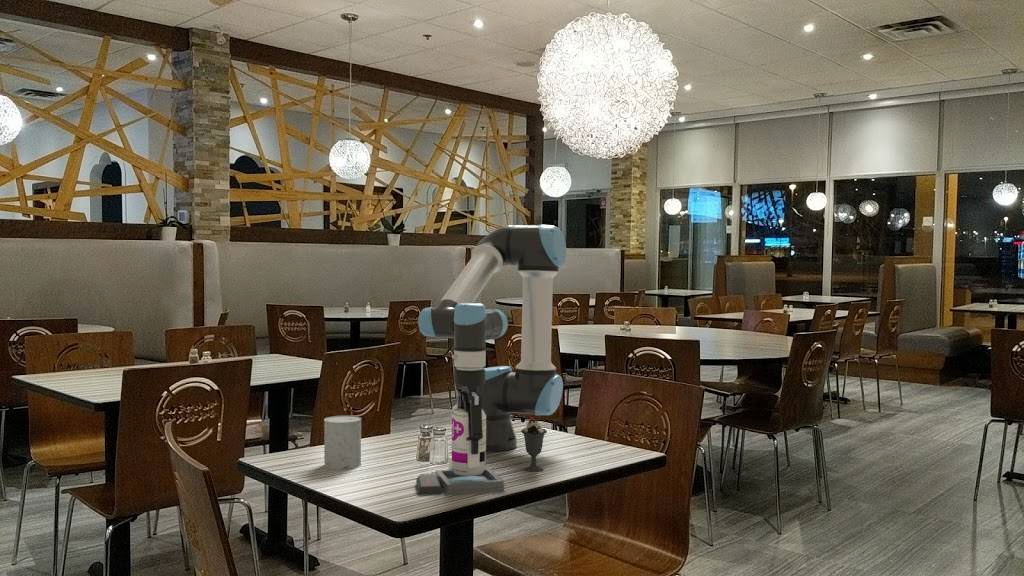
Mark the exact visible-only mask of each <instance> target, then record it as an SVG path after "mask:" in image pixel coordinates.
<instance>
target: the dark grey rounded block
mask: <svg viewBox="0 0 1024 576" xmlns="http://www.w3.org/2000/svg"><path fill="white" fill-rule="evenodd" d="M415 480H416V484H415V485H416V489H417V494H418V495H419V496H422V495H423V496H426V495H429V496H430V495H442V488H441V485H440V482H439V479H438V477H437V476H435V475H434V474H431V473H424V474H423V473H422V474H419V475H418V476H417V478H416V479H415Z"/></svg>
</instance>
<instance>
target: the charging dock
mask: <svg viewBox="0 0 1024 576" xmlns="http://www.w3.org/2000/svg"><path fill="white" fill-rule="evenodd" d="M430 474H434V475H435V476H437V477H438V479H439V482H440V485H441V490H444V491H443V492H444V493H445V494H446V496H458V495H470V494H484V493H486V494H487V493H497V492H498V493H499V492H505V487H504V482H505V481H504V480H503V479H502V478H501V477H500V476H499V475H498V474H497V473H496V472H494V470H493V469H492V468H490V467H489V466H486V470H485V471H483V473H482V474H480V475H475V476H462V475H457V474H455V473H454V471H452V455H449V456H448V469H440V470H439V469H436V470H435V471H431V473H430Z"/></svg>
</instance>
